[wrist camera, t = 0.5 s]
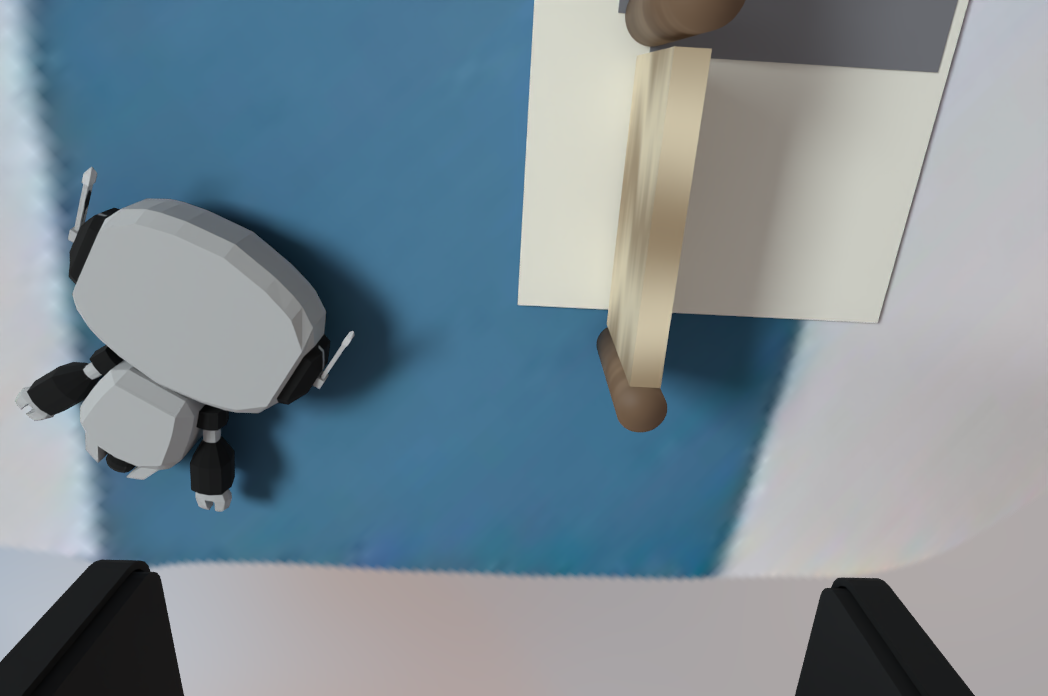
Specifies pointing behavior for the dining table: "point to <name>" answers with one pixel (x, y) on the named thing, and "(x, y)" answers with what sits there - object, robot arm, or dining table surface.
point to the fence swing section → (651, 229)
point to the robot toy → (181, 338)
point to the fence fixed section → (677, 18)
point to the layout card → (741, 153)
